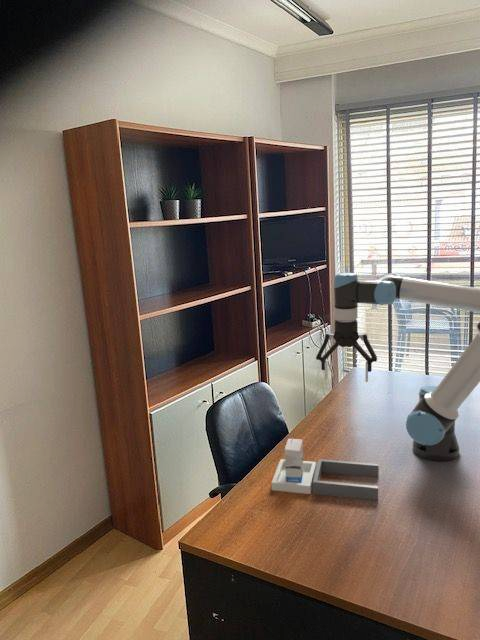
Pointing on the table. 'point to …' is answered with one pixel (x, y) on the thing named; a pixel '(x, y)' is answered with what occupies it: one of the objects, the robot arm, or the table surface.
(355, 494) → the bay
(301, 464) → the ink box
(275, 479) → the tray
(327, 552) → the table surface
